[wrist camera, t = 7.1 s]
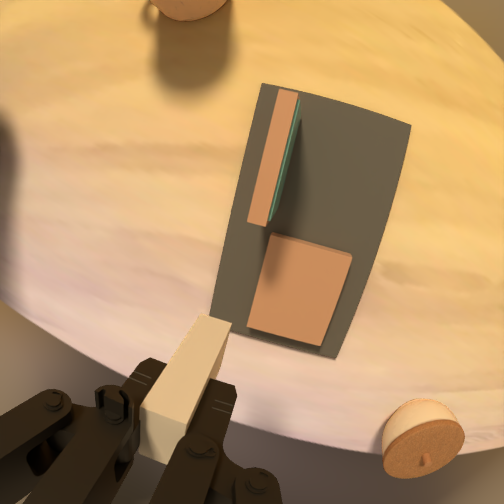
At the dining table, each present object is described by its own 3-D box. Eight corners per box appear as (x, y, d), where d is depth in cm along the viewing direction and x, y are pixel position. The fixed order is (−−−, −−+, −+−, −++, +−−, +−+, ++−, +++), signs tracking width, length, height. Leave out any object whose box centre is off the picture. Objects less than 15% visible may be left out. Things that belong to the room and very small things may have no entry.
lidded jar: (360, 421, 37) (366, 474, 28) (422, 372, 34) (443, 422, 25) (403, 448, 37) (414, 495, 28) (460, 405, 34) (481, 450, 25)
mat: (209, 321, 36) (207, 323, 35) (262, 84, 28) (261, 82, 28) (335, 355, 35) (335, 358, 34) (409, 125, 27) (411, 125, 26)
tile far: (246, 326, 33) (320, 346, 32) (270, 234, 30) (352, 257, 29) (249, 319, 34) (319, 338, 34) (272, 231, 32) (350, 253, 31)
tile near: (261, 207, 31) (246, 221, 23) (285, 107, 28) (279, 88, 21) (277, 211, 31) (268, 227, 23) (302, 111, 28) (301, 93, 20)
